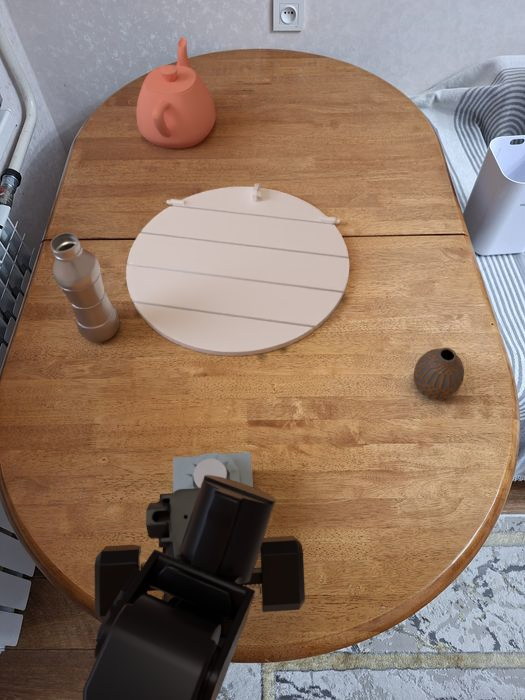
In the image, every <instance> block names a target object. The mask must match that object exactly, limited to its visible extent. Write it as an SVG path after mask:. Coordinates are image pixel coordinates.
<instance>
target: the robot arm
mask: <svg viewBox="0 0 525 700" xmlns="http://www.w3.org/2000/svg"><path fill="white" fill-rule="evenodd" d="M276 501H277V499H276V498H275V497H273V496H272V495H271V494H269V493H268V492H267V493H266V492H265V491H263V490H261V489H258V488H255V487H254V488H253V487H251V486H248V485H245V484H242V483H239V482H236V481H233V480H230V479H226V478H222V477H218V476H212V475H205V476H204V479H203V482H202V484H201V487H200V488H192V489H179V490H176V491H175V492H174V493H173V492H172V493H171V492H170V493H159V498H158V501H157V502H150V503H148V505H147V508H146V510H145V511H146V513H145V527H146V532H147V536H148V537H149V539H151V540H155V539H157V540H158V548H159V549H162V551H160V550H158V549H154V550H152V552H151V554H150V555H149V557H148V558H147V559H146V561H143V562H142V563H140V562H141V560H140V559H141V558H140V556H141V554H142V546H141V545H137V544H119V545H105V546H104V547H103V549H101V551H100V552H99V553H98V554H97V555H96V556H95V560H94V612H95V615H96V617H97V618H98V620H99V621H100V625H99V627H98V630H97V631H96V639H95V642H96V645H95V648H94V655H93V659H94V664H93V666H92V668H91V670H90V673H89V675H88V677H87V679H86V681H85V684H84V686H83V688H82V700H217V699H218V697H219V694H220V691H221V688H222V686H223V684H224V681H225V678H226V677H227V676H226V675H227V673H228V670H229V668H230V665H231V662H232V660H233V657H234V655H235V651H236V649H237V646H238V644H239V641H240V638H241V636H242V634H243V631H244V628H245V626H246V622H247V620H248V617H249V614H250V610H251V608H252V604H253V601H254V599H255V597H258V596H261V602H260V603H261V612H262V613H271V612H273V613H275V612H287V611H299V610H300V609H301V608H302V606H303V605H304V603H305V601H306V589H305V588H306V587H305V567H304V565H305V563H304V562H305V561H304V550H303V549H304V548H303V545H302V543H301V540H299V539H298V538H297V537H296V536H295V535H280V536H279V535H277V536H276V535H275V536H266V534H267V529H268V527H269V524H270V519H271V517H272V514H273V511H274V508H275V505H276ZM265 536H266V537H265ZM259 554H260V567H256V563H257V561H258V560H257V558H258V559H259ZM156 591H157V592H158V591H159V592H161V593H162V594H161V598H159V597H157V596H155V595H152V594H151V593H148V592H156Z"/></svg>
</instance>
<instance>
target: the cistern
mask: <svg viewBox="0 0 525 700" xmlns="http://www.w3.org/2000/svg"><path fill="white" fill-rule="evenodd" d="M172 459H173V460H172V493H174V492H175V491H176V490H179V489H192V488H197V487H196V484H195V481H194V476H193V475H194V470H195V468H196V466H197V465H198V464H199V463H200V462H201V461H203V460H206V459H217V460H219V461H221V462H222V463H223V464H224V466H225V467H226V471H227V476H228V479H230V480H233V481H236V482H239V483H242V484H245V485H248V486H251V487H253V488H255V487H254V486H255V485H254V472H253V462H252V452H251V451H244V452H231V453H229V452H228V453H220V452H207V453H206V452H205V453H202V454H200V455H190V456H177V457H173V458H172ZM258 560H259V557H258V558H257V561H258Z"/></svg>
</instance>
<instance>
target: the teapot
mask: <svg viewBox="0 0 525 700" xmlns="http://www.w3.org/2000/svg"><path fill="white" fill-rule="evenodd" d="M187 47H188V45H187V39H186V37H184V36H182V37H180V38H179V40H178V43H177V55H176V56H177V57H176V65H174V64H165V65H160V66H158V67H156V68H154V69H153V70H151V71H150V72H149V73H148V74H147V75H146V77H145V78H144V81H143V82H142V85H141V88H140V91H139V94H138V98H137V102H136V123H137V128H138V131H139V133H140V135H142V137H143V138H145V139H146V140H147V142H150V143H151V144H153V145H155V146H157V147H160V148H166V149H187V148H191V147H193V146H197V145H198V144H200V143H202V141H204V139H205V138H206V137H207V136H208V135H209V134H210V132H211V131H212V129H213V127H214V125H215V124H216V123H215V122H216V119H217V118H216V117H217V113H216V108H215V103H214V101H213V97H212V95H211V92H210V90H209V88H208V87H207V85H206V84H205V82H204V81H203V80H202V78H201V77H200V76H199V74H198V73H197V72H196V71H195V70H194V69H192V67H191V63H190V61H189V56H188V49H187Z"/></svg>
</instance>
